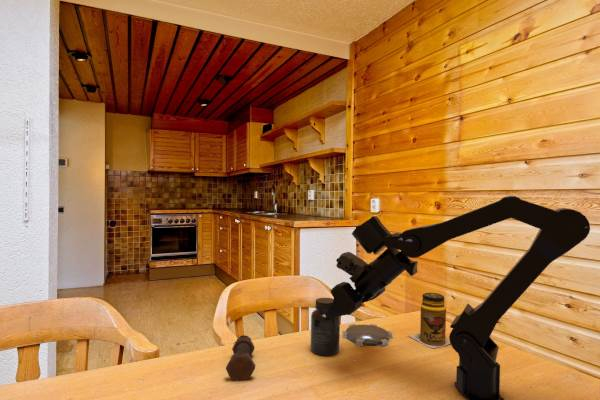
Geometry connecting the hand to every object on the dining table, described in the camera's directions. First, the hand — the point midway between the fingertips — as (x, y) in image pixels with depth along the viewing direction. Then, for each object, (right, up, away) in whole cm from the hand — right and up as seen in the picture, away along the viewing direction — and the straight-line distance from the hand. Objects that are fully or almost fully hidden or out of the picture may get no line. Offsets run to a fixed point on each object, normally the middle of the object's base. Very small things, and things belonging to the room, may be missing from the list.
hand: (336, 311), depth 84 cm
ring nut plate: (+9, -10, +10) cm, 17 cm away
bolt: (-21, -10, -5) cm, 24 cm away
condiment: (+25, -10, +9) cm, 29 cm away
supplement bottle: (-2, -10, +2) cm, 11 cm away
